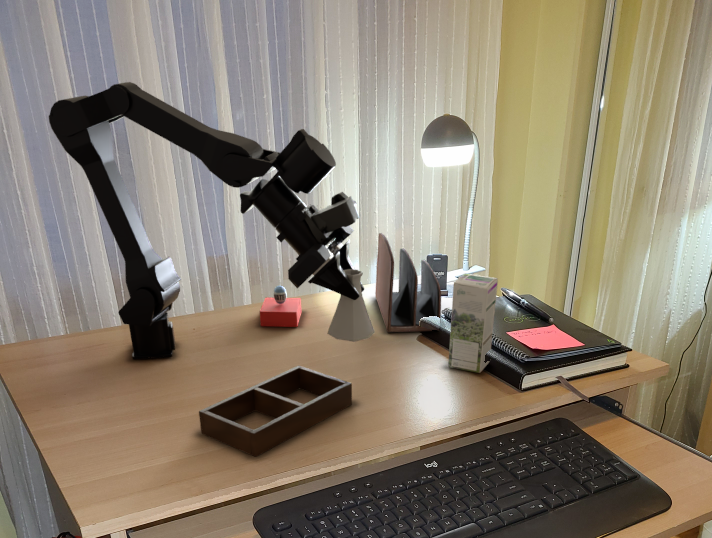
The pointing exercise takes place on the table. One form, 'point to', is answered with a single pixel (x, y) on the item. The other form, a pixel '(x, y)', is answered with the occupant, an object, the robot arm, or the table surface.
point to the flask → (351, 314)
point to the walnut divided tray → (275, 409)
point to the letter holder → (405, 291)
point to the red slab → (280, 310)
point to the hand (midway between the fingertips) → (360, 294)
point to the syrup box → (472, 321)
